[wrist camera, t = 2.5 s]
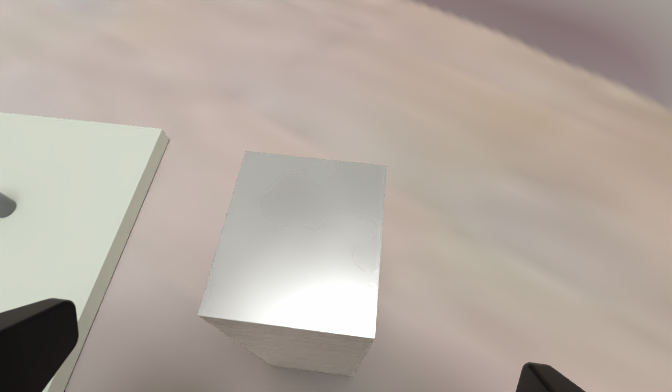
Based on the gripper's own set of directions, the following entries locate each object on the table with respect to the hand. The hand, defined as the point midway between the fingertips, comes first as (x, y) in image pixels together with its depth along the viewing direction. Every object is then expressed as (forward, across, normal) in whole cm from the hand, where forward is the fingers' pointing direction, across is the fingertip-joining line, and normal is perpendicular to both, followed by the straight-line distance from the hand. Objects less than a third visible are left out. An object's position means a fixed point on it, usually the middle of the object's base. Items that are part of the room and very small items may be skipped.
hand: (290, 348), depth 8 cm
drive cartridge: (+8, 0, +5) cm, 10 cm away
